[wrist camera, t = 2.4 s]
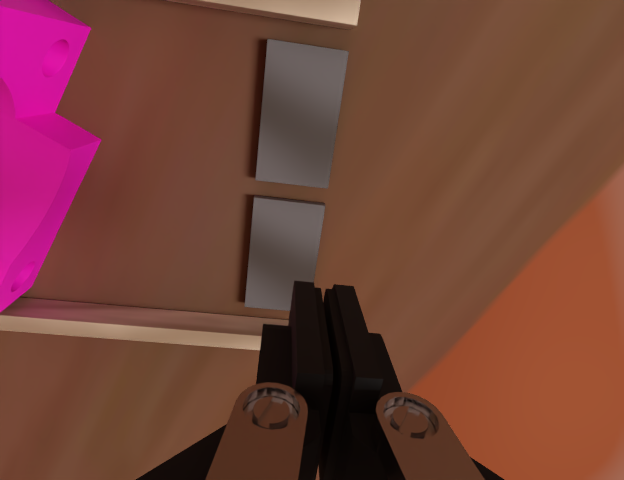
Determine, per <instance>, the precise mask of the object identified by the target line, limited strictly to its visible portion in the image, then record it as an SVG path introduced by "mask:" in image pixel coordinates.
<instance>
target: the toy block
mask: <svg viewBox="0 0 624 480" xmlns="http://www.w3.org/2000/svg"><path fill="white" fill-rule="evenodd" d="M90 30H91V28H90V27H89V26H87V25H86V24H84V23H83V22H81V21H79V20H78V19H76V18H75V17H73V16H72V15H70V14H69V13H67V12H65V11H64V10H62V9H61V8H59V7H58V6H56V5H55V4H53V3H51V2H50V1H48V0H0V312H2V311H3V310H4V309H5V308H6V307H8V306H9V305H10V304H11V303H13V302H14V301H15V300H16V299H17V298H19V297H20V296H21V295H22V294H23V293H25V292H26V291H27V290H28V289H30V288H31V287H32V285H33V283H34V281H35V278H36V276H37V274H38V272H39V270H40V268H41V266H42V264H43V262H44V260H45V257H46V255H47V253H48V251H49V249H50V247H51V245H52V243H53V241H54V239H55V236H56V234H57V232H58V230H59V228H60V226H61V224H62V222H63V220H64V218H65V215H66V213H67V211H68V209H69V207H70V205H71V203H72V201H73V199H74V196H75V194H76V192H77V190H78V188H79V186H80V184H81V182H82V180H83V178H84V175H85V173H86V171H87V169H88V167H89V165H90V163H91V161H92V159H93V157H94V154H95V152H96V150H97V148H98V146H99V144H100V142H101V139H100V138H98V137H96V136H94V135H93V134H91V133H89V132H88V131H86V130H84V129H82V128H81V127H79V126H77V125H75V124H74V123H72V122H70V121H69V120H67V119H65V118H63V117H62V116H60V115H58V114H56V113H55V111H56V109H57V106H58V104H59V102H60V99H61V97H62V95H63V93H64V90H65V88H66V86H67V83H68V81H69V79H70V76H71V74H72V72H73V69H74V67H75V65H76V62H77V60H78V58H79V55H80V53H81V51H82V48H83V46H84V44H85V41H86V39H87V37H88V34H89V32H90Z"/></svg>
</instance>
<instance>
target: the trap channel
mask: <svg viewBox="0 0 624 480" xmlns="http://www.w3.org/2000/svg"><path fill="white" fill-rule="evenodd" d="M164 1H171V2H177V3H183V4H190V5H196V6H202V7H209V8H215V9H221V10H228V11H234V12H240V13H247V14H253V15H259V16H266V17H272V18H278V19H285V20H291V21H297V22H304V23H310V24H316V25H323V26H329V27H335V28H342V29H348V30H351V29H353V28H354V27H355V26H357V21H358V15H359V8H360V2H361V0H164ZM348 52H349V51H343V50H337V49H330V48H324V47H317V46H311V45H304V44H298V43H291V42H284V41H278V40H271V39H268V40H267V52H266V64H265V75H264V87H263V99H262V110H261V122H260V134H259V145H258V157H257V169H256V180H260V181H268V182H277V183H285V184H294V185H302V186H311V187H319V188H328V184H329V177H330V171H331V164H332V158H333V151H334V144H335V138H336V131H337V125H338V118H339V111H340V105H341V98H342V92H343V85H344V79H345V72H346V65H347V59H348ZM324 210H325V203H319V202H310V201H301V200H293V199H284V198H275V197H266V196H258V195H255V196H254V204H253V215H252V227H251V239H250V250H249V262H248V274H247V285H246V297H245V307H253V308H265V309H276V310H288V311H290V308H291V300H292V292H293V285H294V281H304V282H314V276H315V269H316V263H317V256H318V250H319V243H320V237H321V230H322V223H323V217H324ZM288 323H289V320H282V319H271V318H259V317H247V316H235V315H224V314H212V313H200V312H188V311H176V310H165V309H153V308H141V307H129V306H118V305H106V304H94V303H82V302H70V301H59V300H47V299H35V298H23V297H19V298H17V299H16V300H15V301H14V302H13V303H11V304H10V305H9V306H8V307H6V308H5V309H4V310H3V311H2V312H0V330H4V331H17V332H30V333H43V334H56V335H69V336H82V337H95V338H108V339H121V340H134V341H147V342H160V343H173V344H186V345H199V346H212V347H225V348H238V349H251V350H260V346H261V337H262V328H263V324H274V325H285V326H288Z"/></svg>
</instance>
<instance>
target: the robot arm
mask: <svg viewBox="0 0 624 480" xmlns="http://www.w3.org/2000/svg"><path fill="white" fill-rule="evenodd" d="M318 464H319V477H320V480H504V479H503V478H501V477H499V476H498V475H497V474H495V473H493V472H492V471H491V470H489V469H488V468H486V467H485V466H483V465H482V464H480V463H478V462H477V461H475V460H474V459H472V458H471V457H470V456H469V455H468V453H467V452H466V450H465V449H464V447H463V446H462V444H461V443H460V441H459V439H458V438H457V436H456V435H455V433H454V432H453V430H452V429H451V427H450V425H449V424H448V422H447V421H446V419H445V418H444V416H443V415H442V414H441V412H440V411H439V410H438V409H437V408H436V407H435V406H434V405H433V404H431V403H430V402H429V401H427V400H425V399H423V398H421V397H419V396H417V395H414V394H410V393H405V392H402V390H401V387H400V384H399V382H398V379H397V376H396V374H395V371H394V368H393V365H392V363H391V360H390V357H389V355H388V352H387V349H386V346H385V344H384V341H383V338H382V336H381V334H377V333H368V330H367V327H366V323H365V320H364V317H363V314H362V311H361V308H360V305H359V301H358V298H357V295H356V292H355V289H354V287H353V286H345V285H335V284H334V285H333V288H332V289H326V291H325V296H324V302H323V299H322V293H321V288H314V282H304V281H294V285H293V292H292V300H291V308H290V315H289V323H288V326H285V325H274V324H263V328H262V337H261V346H260V355H259V364H258V372H257V381H256V385H253V386H251V387H248V388H247V389H246V390H244V391H243V392H242V393H241V394H240V395H239V397H238V398H237V400H236V402H235V405H234V407H233V410H232V413H231V415H230V418H229V420H228V423H227V424H226V425H225V426H223V427H221V428H220V429H218V430H216V431H215V432H213V433H211V434H210V435H208V436H207V437H205V438H203V439H202V440H200V441H198V442H197V443H195V444H193V445H192V446H190V447H189V448H187V449H185V450H184V451H182V452H180V453H179V454H177V455H175V456H174V457H172V458H171V459H169V460H167V461H166V462H164V463H162V464H161V465H159V466H157V467H156V468H154V469H152V470H151V471H149V472H148V473H146V474H144V475H143V476H141V477H139V478H138V479H136V480H315V479H316V474H317V468H318Z"/></svg>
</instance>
